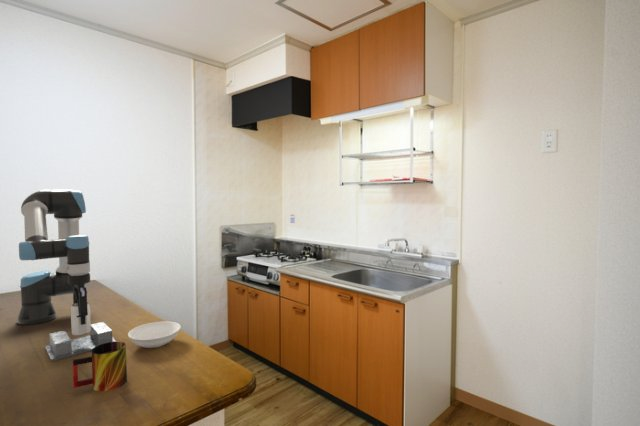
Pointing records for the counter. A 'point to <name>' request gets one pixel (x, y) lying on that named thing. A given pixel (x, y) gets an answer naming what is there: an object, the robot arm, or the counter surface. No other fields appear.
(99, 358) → the mug
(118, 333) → the counter surface
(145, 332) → the bowl
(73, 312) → the can
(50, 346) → the gray metal fixture
